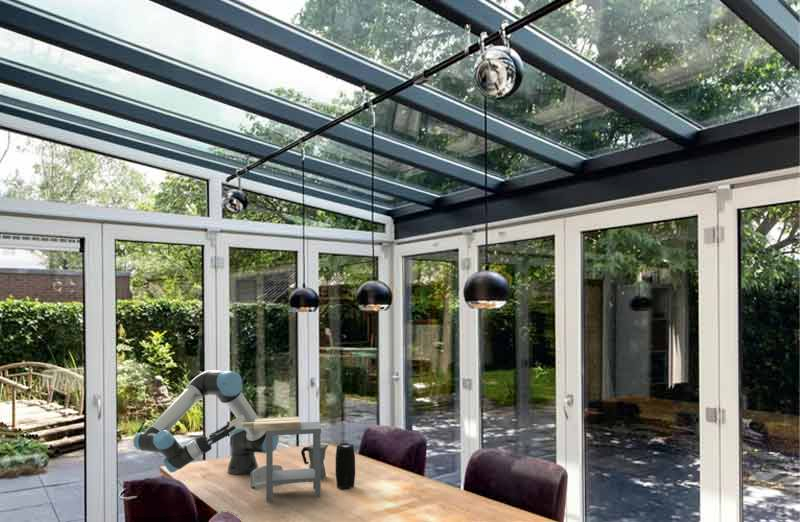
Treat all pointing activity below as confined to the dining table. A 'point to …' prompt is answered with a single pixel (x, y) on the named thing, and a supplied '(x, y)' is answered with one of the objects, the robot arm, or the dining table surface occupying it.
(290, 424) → the cutting board
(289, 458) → the dining table surface
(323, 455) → the coffeepot
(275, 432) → the side table
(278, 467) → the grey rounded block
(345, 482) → the portable speaker
